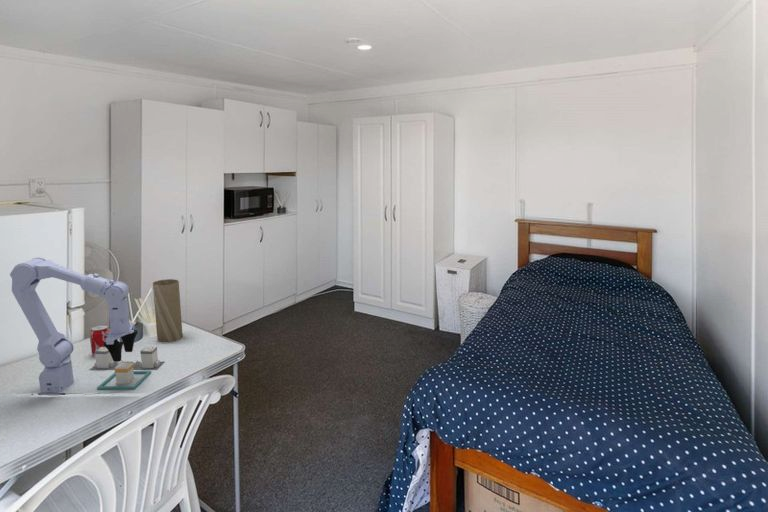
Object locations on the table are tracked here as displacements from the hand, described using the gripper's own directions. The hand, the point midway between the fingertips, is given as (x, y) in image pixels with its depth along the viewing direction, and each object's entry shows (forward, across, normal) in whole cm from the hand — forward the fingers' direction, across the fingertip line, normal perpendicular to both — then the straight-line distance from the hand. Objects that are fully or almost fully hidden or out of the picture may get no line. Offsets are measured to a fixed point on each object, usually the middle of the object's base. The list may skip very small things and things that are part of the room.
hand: (123, 356), depth 154 cm
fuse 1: (+9, +11, +13) cm, 19 cm away
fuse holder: (+10, +11, +5) cm, 16 cm away
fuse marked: (+9, -1, 0) cm, 9 cm away
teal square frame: (+10, -1, 0) cm, 10 cm away
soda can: (+10, +22, +20) cm, 31 cm away
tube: (+10, +41, +2) cm, 42 cm away
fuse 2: (+9, +11, -3) cm, 15 cm away
